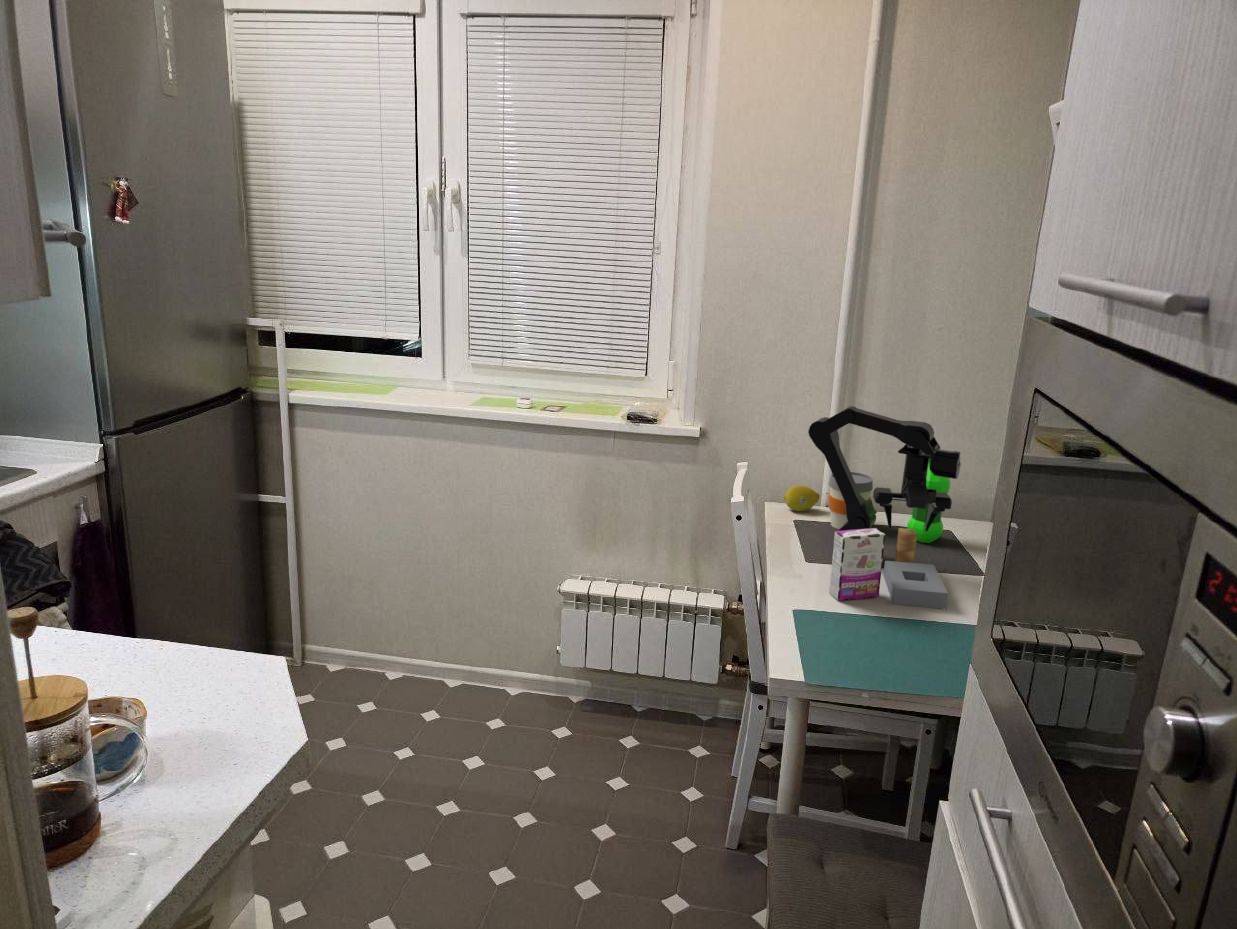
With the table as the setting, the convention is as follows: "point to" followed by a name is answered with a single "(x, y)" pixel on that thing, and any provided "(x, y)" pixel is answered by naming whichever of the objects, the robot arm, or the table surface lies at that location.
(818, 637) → the table surface
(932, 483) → the plastic bottle
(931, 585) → the socket block
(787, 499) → the lemon
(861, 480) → the reusable coffee cup
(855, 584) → the candy bar box
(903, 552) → the peg
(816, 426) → the robot arm
